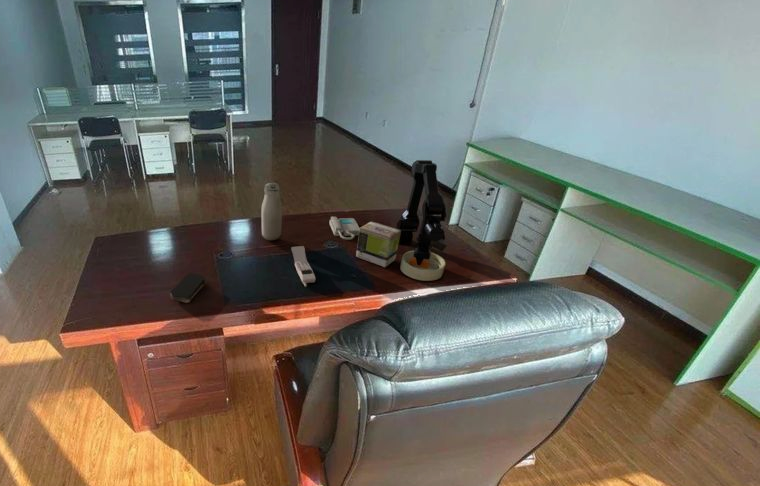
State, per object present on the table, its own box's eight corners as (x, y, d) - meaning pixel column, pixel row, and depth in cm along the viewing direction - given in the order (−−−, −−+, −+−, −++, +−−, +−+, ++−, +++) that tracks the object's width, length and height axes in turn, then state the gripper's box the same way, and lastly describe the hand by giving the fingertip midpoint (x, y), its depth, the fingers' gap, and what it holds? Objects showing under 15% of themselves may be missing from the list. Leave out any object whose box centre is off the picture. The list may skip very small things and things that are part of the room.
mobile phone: (303, 245, 178) (318, 273, 158) (303, 257, 181) (317, 286, 161) (290, 246, 177) (303, 275, 157) (290, 258, 181) (303, 287, 160)
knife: (408, 265, 169) (410, 258, 168) (409, 262, 171) (410, 256, 170) (435, 270, 166) (437, 263, 164) (436, 267, 168) (437, 260, 166)
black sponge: (189, 279, 166) (188, 272, 164) (207, 283, 164) (206, 275, 162) (169, 301, 154) (167, 293, 152) (188, 305, 152) (187, 297, 149)
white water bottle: (264, 244, 191) (264, 188, 175) (259, 235, 199) (258, 180, 183) (284, 242, 193) (285, 186, 177) (278, 233, 201) (279, 178, 185)
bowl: (397, 277, 166) (400, 265, 163) (402, 258, 179) (404, 247, 176) (441, 285, 161) (444, 273, 158) (442, 265, 174) (446, 254, 171)
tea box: (395, 259, 178) (402, 229, 170) (384, 268, 172) (390, 237, 164) (366, 249, 187) (371, 220, 178) (354, 257, 181) (359, 227, 172)
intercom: (339, 236, 188) (329, 215, 208) (338, 244, 191) (328, 223, 211) (366, 236, 188) (354, 214, 209) (365, 244, 191) (353, 222, 211)
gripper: (448, 243, 150) (437, 278, 159) (449, 223, 164) (440, 256, 173) (417, 238, 153) (409, 272, 163) (421, 219, 167) (413, 252, 177)
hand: (418, 263), depth 169 cm, fingers closed on knife, 2 cm apart
